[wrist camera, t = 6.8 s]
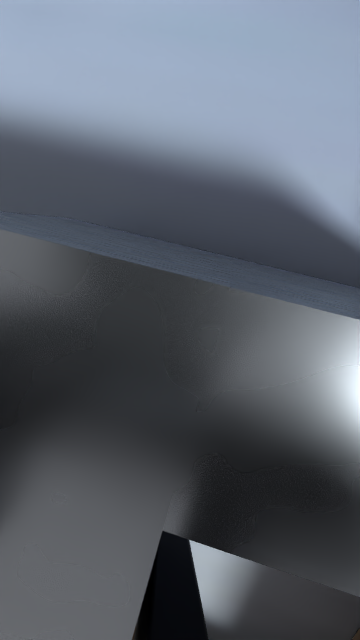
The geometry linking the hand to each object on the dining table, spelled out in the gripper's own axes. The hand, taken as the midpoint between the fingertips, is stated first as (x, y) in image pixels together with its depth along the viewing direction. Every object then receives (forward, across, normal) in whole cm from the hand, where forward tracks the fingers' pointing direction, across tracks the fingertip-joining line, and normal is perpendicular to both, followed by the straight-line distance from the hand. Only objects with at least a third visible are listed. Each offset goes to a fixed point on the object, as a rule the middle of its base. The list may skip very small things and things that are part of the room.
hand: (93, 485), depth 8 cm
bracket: (+1, -2, -2) cm, 3 cm away
